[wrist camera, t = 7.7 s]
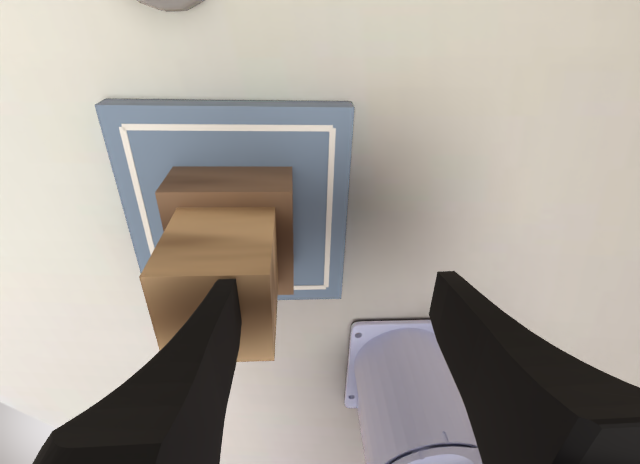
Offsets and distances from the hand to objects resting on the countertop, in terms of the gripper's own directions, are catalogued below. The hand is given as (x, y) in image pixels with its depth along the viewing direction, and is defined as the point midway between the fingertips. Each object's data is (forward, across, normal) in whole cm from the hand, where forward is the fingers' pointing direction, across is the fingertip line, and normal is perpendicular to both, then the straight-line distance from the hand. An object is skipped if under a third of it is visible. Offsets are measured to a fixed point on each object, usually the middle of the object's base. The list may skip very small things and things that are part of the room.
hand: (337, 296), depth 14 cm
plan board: (+9, +5, +1) cm, 11 cm away
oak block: (+5, +5, +1) cm, 7 cm away
